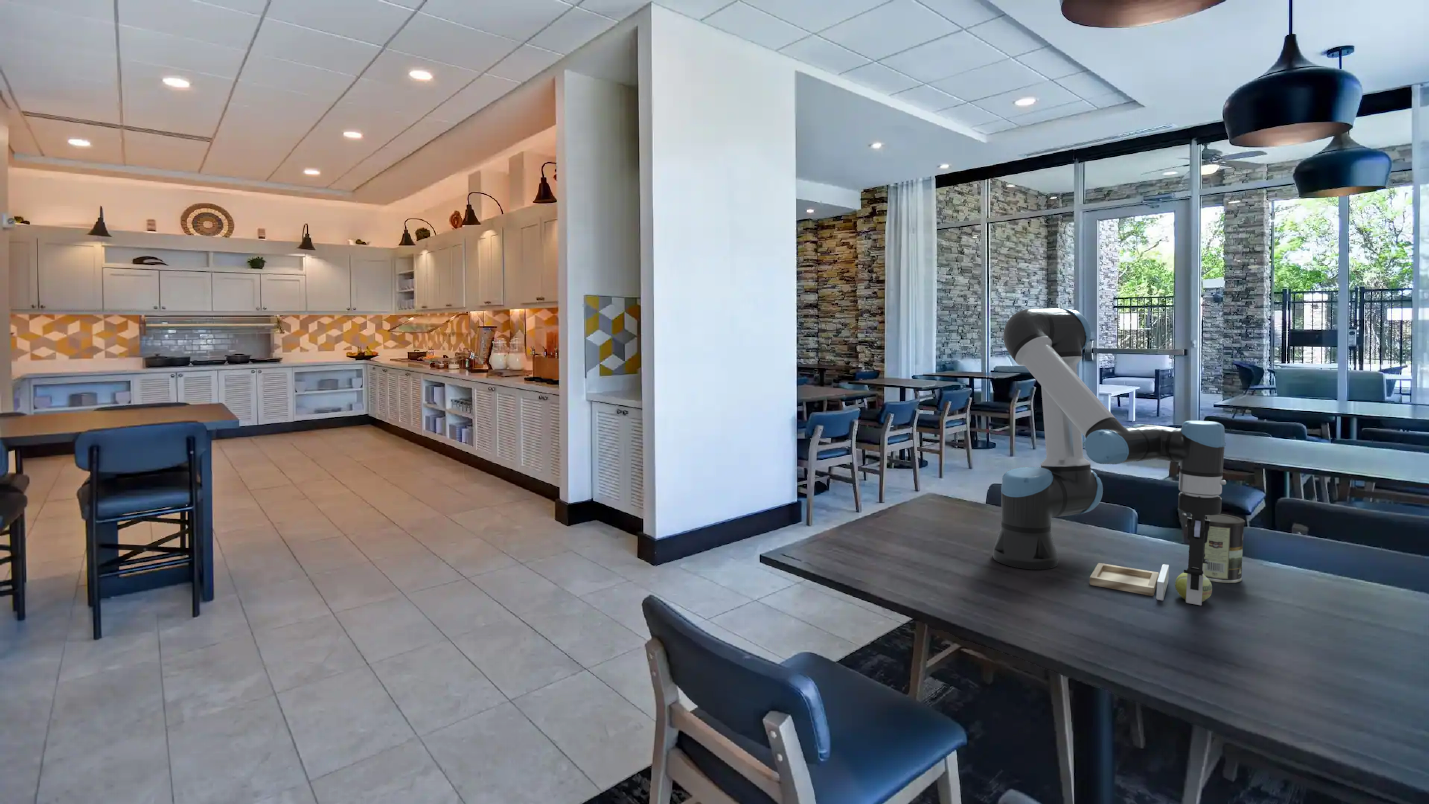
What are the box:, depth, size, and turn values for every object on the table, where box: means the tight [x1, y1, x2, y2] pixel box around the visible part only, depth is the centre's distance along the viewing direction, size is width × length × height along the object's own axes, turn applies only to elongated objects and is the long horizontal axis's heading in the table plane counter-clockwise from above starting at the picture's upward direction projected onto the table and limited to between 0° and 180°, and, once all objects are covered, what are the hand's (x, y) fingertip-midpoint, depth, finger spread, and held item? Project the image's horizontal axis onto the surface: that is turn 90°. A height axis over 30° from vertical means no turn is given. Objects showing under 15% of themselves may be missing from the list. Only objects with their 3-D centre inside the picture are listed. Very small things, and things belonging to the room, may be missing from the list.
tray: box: [1089, 562, 1160, 597], centre depth 158 cm, size 12×12×2 cm
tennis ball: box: [1174, 572, 1213, 603], centre depth 147 cm, size 6×7×7 cm
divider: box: [1155, 563, 1170, 601], centre depth 153 cm, size 1×14×4 cm, turn 143°
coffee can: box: [1189, 513, 1246, 584], centre depth 161 cm, size 10×10×14 cm
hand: (1194, 597), depth 147 cm, fingers open, 7 cm apart
